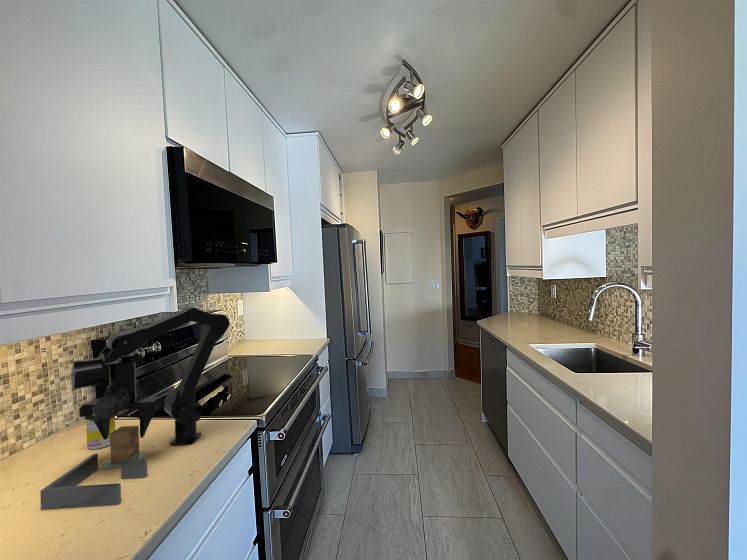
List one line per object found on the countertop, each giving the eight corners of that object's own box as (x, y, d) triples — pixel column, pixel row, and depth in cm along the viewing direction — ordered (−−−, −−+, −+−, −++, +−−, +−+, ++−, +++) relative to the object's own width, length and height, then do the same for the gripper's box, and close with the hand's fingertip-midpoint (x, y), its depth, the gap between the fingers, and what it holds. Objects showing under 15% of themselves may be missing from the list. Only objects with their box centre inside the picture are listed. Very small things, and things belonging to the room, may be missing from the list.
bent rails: (94, 469, 89) (93, 453, 89) (157, 465, 90) (156, 450, 90) (40, 509, 73) (40, 490, 73) (118, 504, 74) (117, 485, 74)
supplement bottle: (112, 437, 107) (111, 395, 107) (118, 443, 103) (117, 400, 102) (84, 445, 102) (83, 402, 101) (90, 452, 97) (88, 407, 97)
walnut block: (122, 455, 95) (121, 426, 95) (139, 454, 95) (138, 425, 95) (110, 464, 90) (110, 433, 90) (129, 463, 91) (128, 433, 90)
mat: (118, 454, 96) (118, 453, 96) (148, 453, 96) (148, 452, 96) (100, 468, 89) (100, 467, 89) (133, 466, 89) (133, 465, 89)
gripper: (60, 391, 84) (62, 455, 84) (141, 388, 85) (143, 451, 85) (94, 377, 95) (95, 434, 95) (165, 375, 96) (166, 431, 96)
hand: (124, 438), depth 92 cm, fingers open, 9 cm apart
